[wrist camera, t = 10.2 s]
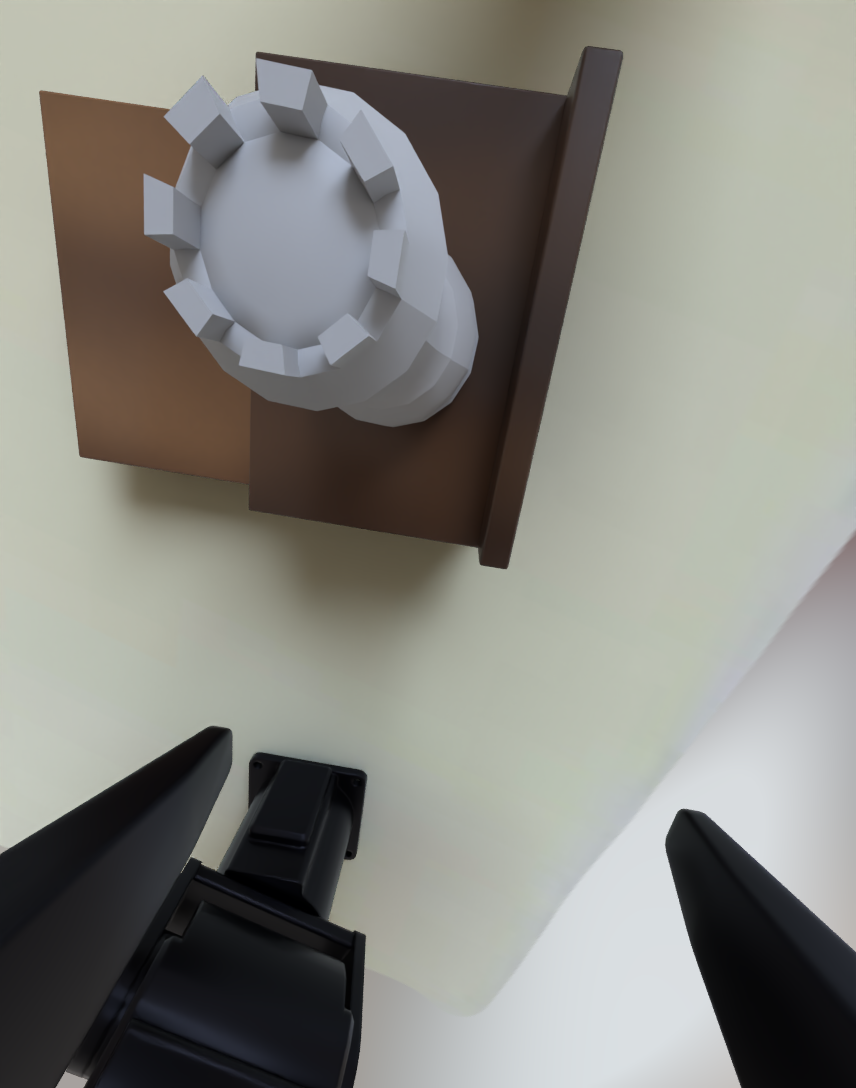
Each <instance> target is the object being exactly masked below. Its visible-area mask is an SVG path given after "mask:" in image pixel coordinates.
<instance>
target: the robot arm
mask: <svg viewBox="0 0 856 1088" xmlns="http://www.w3.org/2000/svg"><path fill="white" fill-rule="evenodd" d="M259 762H260V763H259ZM231 765H232V731H231V730H230V729H229V728H224V727H218V726H210V727H207V728H206V729H204V730H202V731H201V732H199V733H197V734H196V735H194V736H193V737H191V738H189V739H188V740H186V741H184V742H183V743H181V744H180V745H178V746H176V747H175V748H173V749H171V750H170V751H168V752H166V753H165V754H163V755H162V756H160V757H158V758H157V759H155V760H153V761H152V762H150V763H148V764H147V765H145V766H144V767H142V768H140V769H139V770H137V771H135V772H134V773H132V774H130V775H129V776H127V777H126V778H124V779H122V780H121V781H119V782H117V783H116V784H114V785H112V786H111V787H109V788H108V789H106V790H104V791H103V792H101V793H99V794H98V795H96V796H94V797H93V798H91V799H90V800H88V801H86V802H85V803H83V804H81V805H80V806H78V807H77V808H75V809H73V810H72V811H70V812H68V813H67V814H65V815H63V816H62V817H60V818H59V819H57V820H55V821H54V822H52V823H50V824H49V825H47V826H45V827H44V828H42V829H41V830H39V831H37V832H36V833H34V834H32V835H31V836H29V837H27V838H26V839H24V840H23V841H21V842H19V843H18V844H16V845H14V846H13V847H11V848H9V849H8V850H6V851H5V852H3V853H2V854H0V1088H55V1087H56V1086H57V1084H58V1082H59V1081H60V1079H61V1077H62V1076H63V1074H64V1072H65V1071H66V1072H68V1073H71V1074H73V1075H76V1076H78V1077H82V1078H85V1079H88V1081H87V1082H86V1084H85V1086H84V1088H353V1085H354V1080H355V1076H356V1071H357V1065H358V1059H359V1052H360V1042H361V1028H362V1006H363V985H364V963H365V942H366V935H364V934H362V933H360V932H358V931H353V932H351V931H349V930H347V929H345V928H342V927H340V926H338V925H336V924H334V923H331V922H329V921H328V919H329V915H330V911H331V907H332V903H333V899H334V895H335V892H336V888H337V884H338V880H339V876H340V872H341V868H342V864H343V860H344V859H346V860H351V859H354V858H355V857H356V854H357V849H358V842H359V835H360V828H361V820H362V813H363V805H364V798H365V790H366V783H367V775H366V774H365V773H364V772H363V771H361V770H357V769H351V768H346V767H340V766H334V765H329V764H323V763H317V762H312V761H306V760H301V759H295V758H289V757H284V756H278V755H272V754H267V753H256V754H254V755H253V757H252V759H251V760H250V763H249V806H248V812H247V814H246V816H245V817H244V819H243V821H242V823H241V825H240V827H239V829H238V831H237V833H236V835H235V837H234V839H233V841H232V843H231V845H230V846H229V848H228V850H227V852H226V854H225V856H224V858H223V860H222V862H221V864H220V866H219V868H218V870H217V871H215V870H213V869H211V868H208V867H206V866H204V865H202V864H201V863H202V862H201V861H199V860H197V859H195V858H192V857H191V858H190V860H189V861H188V863H187V865H186V866H185V864H186V862H187V860H188V859H189V857H190V855H191V853H192V851H193V849H194V847H195V845H196V843H197V841H198V839H199V837H200V834H201V832H202V830H203V828H204V826H205V824H206V821H207V819H208V817H209V815H210V813H211V811H212V808H213V806H214V804H215V802H216V800H217V798H218V796H219V793H220V791H221V789H222V787H223V785H224V783H225V780H226V778H227V776H228V774H229V772H230V769H231ZM356 779H358V780H356ZM665 846H666V853H667V856H668V860H669V864H670V868H671V871H672V876H673V879H674V883H675V887H676V891H677V895H678V898H679V902H680V906H681V910H682V913H683V917H684V921H685V925H686V929H687V932H688V936H689V939H690V942H691V946H692V949H693V952H694V955H695V957H696V961H697V964H698V967H699V969H700V972H701V975H702V978H703V980H704V983H705V986H706V989H707V992H708V995H709V998H710V1000H711V1003H712V1006H713V1009H714V1012H715V1015H716V1017H717V1020H718V1023H719V1026H720V1029H721V1032H722V1034H723V1037H724V1040H725V1043H726V1045H727V1048H728V1051H729V1054H730V1057H731V1060H732V1063H733V1066H734V1068H735V1071H736V1074H737V1077H738V1080H739V1082H740V1085H741V1088H856V952H855V951H854V950H853V949H852V948H851V947H850V946H849V945H847V944H846V943H845V942H844V941H843V940H842V939H841V938H840V937H839V936H838V935H837V934H836V933H834V932H833V931H832V930H831V929H830V928H829V927H828V926H827V925H826V924H825V923H824V922H823V921H821V920H820V919H819V918H818V917H817V916H816V915H815V914H814V913H813V912H811V911H810V910H809V909H808V908H807V907H806V906H805V905H804V904H803V903H802V902H801V901H800V900H799V899H797V898H796V897H795V896H794V895H793V894H792V893H791V892H790V891H789V890H788V889H787V888H785V887H784V886H783V885H782V884H781V883H780V882H779V881H778V880H777V879H776V878H775V877H773V876H772V875H771V874H770V873H769V872H768V871H767V870H766V869H765V868H764V867H763V866H762V865H760V864H759V863H758V862H757V861H756V860H755V859H754V858H753V857H751V856H750V854H748V853H747V852H746V851H745V850H744V849H743V848H742V847H741V846H740V845H739V844H737V843H736V842H735V841H734V840H733V839H732V838H731V837H730V836H729V835H727V833H726V832H724V831H723V830H722V829H721V828H720V827H719V826H718V825H717V824H716V823H715V822H714V821H712V820H711V819H710V818H709V817H708V816H707V815H706V814H704V813H702V812H699V811H694V810H689V809H681V810H679V811H678V812H677V814H676V816H675V819H674V821H673V823H672V825H671V827H670V830H669V832H668V834H667V837H666V843H665ZM184 866H185V868H184ZM183 868H184V870H183V871H182V869H183ZM181 871H182V873H181ZM68 1065H69V1066H68ZM66 1069H67V1070H66Z"/></svg>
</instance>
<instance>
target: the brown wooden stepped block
mask: <svg viewBox="0 0 856 1088" xmlns="http://www.w3.org/2000/svg"><path fill="white" fill-rule="evenodd" d="M256 58H258V59H262V60H267V61H272V62H276V63H281V64H286V65H290V66H295V67H300V68H304V69H309V70H312V71H313V73H314V75H315V78H316V80H317V82H318V84H319V85H321V86H326V87H330V88H335V89H340V90H344V91H349V92H354V93H355V94H356V95H357V96H359V97H360V98H361V99H362V100H364V101H365V102H366V103H367V104H369V105H370V106H371V107H372V108H374V109H375V110H376V111H377V112H379V113H380V114H381V115H382V116H384V117H385V118H386V119H387V120H389V121H390V122H391V123H392V124H394V125H395V126H396V127H397V128H399V129H400V130H401V131H402V132H404V133H405V134H406V136H407V138H408V140H409V142H410V143H411V145H412V147H413V149H414V151H415V152H416V154H417V156H418V158H419V160H420V162H421V163H422V165H423V167H424V169H425V171H426V172H427V174H428V176H429V178H430V180H431V181H432V183H433V185H434V187H435V189H436V191H437V192H438V195H439V202H440V208H441V215H442V221H443V228H444V234H445V240H446V247H447V253H448V255H449V256H450V257H452V259H453V261H454V263H455V264H456V266H457V268H458V270H459V271H460V273H461V275H462V277H463V279H464V280H465V282H466V284H467V286H468V287H469V289H470V291H471V293H472V298H473V301H474V308H475V315H476V322H477V329H478V336H479V338H478V343H477V347H476V352H475V356H474V361H473V365H472V370H471V374H470V375H469V377H468V378H467V380H466V381H465V383H464V384H463V386H462V387H461V389H460V390H459V392H458V393H457V395H456V396H455V398H454V399H453V401H452V402H451V403H450V404H448V405H447V406H446V407H444V408H443V409H441V410H440V411H438V412H437V413H435V414H434V415H432V416H431V417H430V418H428V419H427V420H425V421H422V422H417V423H412V424H407V425H402V426H397V427H390V426H384V425H379V424H374V423H370V422H365V421H360V420H356V419H354V418H353V417H351V416H350V415H348V414H347V413H346V412H344V411H343V410H341V409H340V408H338V407H335V408H330V409H325V410H320V411H314V410H309V409H305V408H300V407H295V406H291V405H286V404H282V403H277V402H272V401H268V400H266V399H265V398H263V397H262V396H260V395H259V394H257V393H256V392H255V391H253V390H252V389H250V388H249V387H247V386H246V385H244V384H243V383H241V382H240V381H238V380H237V379H235V378H234V377H232V376H231V375H229V374H228V373H226V372H225V371H224V370H223V369H222V368H221V366H220V365H219V364H218V362H217V361H216V360H215V358H214V357H213V356H212V354H211V353H210V351H209V350H208V349H207V347H206V346H205V345H204V343H203V342H202V341H201V339H200V338H199V337H196V335H195V334H194V333H193V331H192V330H191V329H190V327H189V326H188V325H187V323H186V322H185V320H184V319H183V318H182V316H181V315H180V314H179V312H178V311H177V310H176V308H175V307H174V305H173V304H172V303H171V301H170V300H169V299H168V297H167V296H166V295H165V293H164V292H163V291H165V290H167V289H168V288H170V287H172V286H174V285H176V282H175V279H174V276H173V273H172V269H171V266H170V248H169V247H167V246H165V245H163V244H161V243H159V242H157V241H155V240H153V239H152V238H150V237H148V236H146V235H144V174H146V175H148V176H150V177H153V178H155V179H157V180H159V181H161V182H164V183H166V184H168V185H170V186H172V187H174V188H175V187H176V184H177V182H178V179H179V176H180V174H181V171H182V168H183V166H184V163H185V160H186V158H187V155H188V152H189V150H190V147H191V145H190V144H189V143H188V142H187V141H186V140H185V139H184V138H183V137H182V136H181V135H180V134H179V133H178V131H177V130H176V129H175V128H174V127H173V126H172V125H171V124H170V123H169V122H168V121H167V120H166V119H165V118H164V116H165V115H166V114H167V112H168V111H169V110H170V109H164V108H157V107H151V106H144V105H137V104H130V103H123V102H116V101H109V100H103V99H96V98H89V97H82V96H75V95H68V94H61V93H55V92H48V91H40V92H39V95H40V104H41V113H42V122H43V131H44V140H45V149H46V158H47V167H48V176H49V185H50V194H51V203H52V212H53V221H54V230H55V239H56V248H57V257H58V266H59V275H60V284H61V293H62V302H63V311H64V320H65V329H66V338H67V347H68V356H69V365H70V374H71V383H72V392H73V401H74V410H75V419H76V428H77V437H78V446H79V455H80V457H83V458H89V459H96V460H102V461H108V462H114V463H120V464H126V465H132V466H138V467H144V468H151V469H157V470H163V471H169V472H175V473H181V474H187V475H193V476H199V477H205V478H212V479H218V480H224V481H230V482H236V483H242V484H248V485H249V510H252V511H258V512H264V513H270V514H276V515H282V516H289V517H295V518H301V519H307V520H313V521H319V522H325V523H331V524H337V525H343V526H349V527H355V528H361V529H367V530H373V531H379V532H385V533H392V534H398V535H404V536H410V537H416V538H422V539H428V540H434V541H440V542H446V543H452V544H458V545H464V546H470V547H476V548H478V553H479V562H480V565H482V566H489V567H495V568H501V569H507V568H508V565H509V561H510V557H511V552H512V548H513V543H514V539H515V534H516V530H517V525H518V521H519V517H520V512H521V508H522V503H523V499H524V494H525V490H526V486H527V481H528V477H529V472H530V468H531V463H532V459H533V455H534V450H535V446H536V441H537V437H538V432H539V428H540V424H541V419H542V415H543V410H544V406H545V401H546V397H547V393H548V388H549V384H550V379H551V375H552V370H553V366H554V361H555V357H556V353H557V348H558V344H559V339H560V335H561V330H562V326H563V322H564V317H565V313H566V308H567V304H568V299H569V295H570V291H571V286H572V282H573V277H574V273H575V268H576V264H577V260H578V255H579V251H580V246H581V242H582V237H583V233H584V229H585V224H586V220H587V215H588V211H589V206H590V202H591V197H592V193H593V189H594V184H595V180H596V175H597V171H598V166H599V162H600V158H601V153H602V149H603V144H604V140H605V135H606V131H607V127H608V122H609V118H610V113H611V109H612V104H613V100H614V96H615V91H616V87H617V82H618V78H619V73H620V69H621V65H622V60H623V52H622V51H621V50H614V49H607V48H599V47H592V46H587V47H585V48H584V50H583V52H582V54H581V57H580V60H579V63H578V66H577V69H576V71H575V74H574V77H573V80H572V83H571V86H570V89H569V91H568V94H567V96H565V95H558V94H551V93H544V92H537V91H530V90H523V89H516V88H509V87H502V86H495V85H488V84H481V83H474V82H467V81H460V80H453V79H446V78H439V77H432V76H425V75H418V74H411V73H404V72H397V71H390V70H383V69H376V68H369V67H362V66H355V65H348V64H341V63H334V62H327V61H320V60H313V59H305V58H298V57H291V56H284V55H277V54H270V53H263V52H256ZM258 90H259V88H258V77H257V66H256V75H255V91H258Z"/></svg>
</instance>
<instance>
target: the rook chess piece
mask: <svg viewBox="0 0 856 1088" xmlns="http://www.w3.org/2000/svg"><path fill="white" fill-rule="evenodd" d="M256 66H257V77H258V88H259V90H258V91H255V92H251V93H248V94H245V95H242V96H238V97H236V98H235V99H234V100H233V101H232V102H231V103H230V104H229V105H228V106H227V105H226V103H225V102H224V101H223V100H222V98H221V97H220V96H219V95H218V93H217V92H216V91H215V90H214V88H213V87H212V86H211V85H210V83H209V82H208V81H207V80H206V78H205V77H204V76H202V77H201V78H200V79H199V80H198V81H197V82H196V83H195V84H194V85H193V86H192V87H191V88H190V89H189V90H188V91H187V92H186V94H185V95H184V96H183V97H182V98H181V99H180V100H179V101H178V102H177V103H176V104H175V105H174V106H173V107H172V108H171V109H170V110H169V111H168V112H167V114H166V115H165V116H164V118H165V119H166V120H167V121H168V122H169V123H170V124H171V125H172V126H173V127H174V128H175V129H176V130H177V131H178V133H179V134H180V135H181V136H182V137H183V138H184V139H185V140H186V141H187V142H188V143H189V144H190V145H191V147H190V150H189V152H188V155H187V158H186V160H185V163H184V166H183V168H182V171H181V174H180V176H179V179H178V182H177V184H176V187H175V188H174V187H172V186H170V185H168V184H166V183H164V182H161V181H159V180H157V179H155V178H153V177H150V176H148V175H146V174H144V235H146V236H148V237H150V238H152V239H153V240H155V241H157V242H159V243H161V244H163V245H165V246H167V247H169V248H170V266H171V269H172V273H173V276H174V279H175V282H176V285H174V286H172V287H170V288H168V289H167V290H165V291H163V292H164V293H165V295H166V296H167V297H168V299H169V300H170V301H171V303H172V304H173V305H174V307H175V308H176V310H177V311H178V312H179V314H180V315H181V316H182V318H183V319H184V320H185V322H186V323H187V325H188V326H189V327H190V329H191V330H192V331H193V333H194V334H195V335H196V337H199V338H200V339H201V341H202V342H203V343H204V345H205V346H206V347H207V349H208V350H209V351H210V353H211V354H212V356H213V357H214V358H215V360H216V361H217V362H218V364H219V365H220V366H221V368H222V369H223V370H224V371H225V372H226V373H228V374H229V375H231V376H232V377H234V378H235V379H237V380H238V381H240V382H241V383H243V384H244V385H246V386H247V387H249V388H250V389H252V390H253V391H255V392H256V393H257V394H259V395H260V396H262V397H263V398H265V399H266V400H268V401H272V402H277V403H282V404H286V405H291V406H295V407H300V408H305V409H309V410H314V411H320V410H325V409H330V408H335V407H338V408H340V409H341V410H343V411H344V412H346V413H347V414H348V415H350V416H351V417H353V418H354V419H356V420H360V421H365V422H370V423H374V424H379V425H384V426H390V427H397V426H402V425H407V424H412V423H417V422H422V421H425V420H427V419H428V418H430V417H431V416H432V415H434V414H435V413H437V412H438V411H440V410H441V409H443V408H444V407H446V406H447V405H448V404H450V403H451V402H452V401H453V399H454V398H455V396H456V395H457V393H458V392H459V390H460V389H461V387H462V386H463V384H464V383H465V381H466V380H467V378H468V377H469V375H470V374H471V370H472V365H473V361H474V356H475V352H476V347H477V343H478V338H479V336H478V329H477V322H476V315H475V308H474V301H473V298H472V293H471V291H470V289H469V287H468V286H467V284H466V282H465V280H464V279H463V277H462V275H461V273H460V271H459V270H458V268H457V266H456V264H455V263H454V261H453V259H452V257H450V256H449V255H448V253H447V247H446V240H445V234H444V228H443V221H442V215H441V208H440V202H439V195H438V192H437V191H436V189H435V187H434V185H433V183H432V181H431V180H430V178H429V176H428V174H427V172H426V171H425V169H424V167H423V165H422V163H421V162H420V160H419V158H418V156H417V154H416V152H415V151H414V149H413V147H412V145H411V143H410V142H409V140H408V138H407V136H406V134H405V133H404V132H402V131H401V130H400V129H399V128H397V127H396V126H395V125H394V124H392V123H391V122H390V121H389V120H387V119H386V118H385V117H384V116H382V115H381V114H380V113H379V112H377V111H376V110H375V109H374V108H372V107H371V106H370V105H369V104H367V103H366V102H365V101H364V100H362V99H361V98H360V97H359V96H357V95H356V94H355V93H354V92H349V91H344V90H340V89H335V88H330V87H326V86H321V85H319V84H318V82H317V80H316V78H315V75H314V73H313V71H312V70H309V69H304V68H300V67H295V66H290V65H286V64H281V63H276V62H272V61H267V60H262V59H258V58H256Z"/></svg>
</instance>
